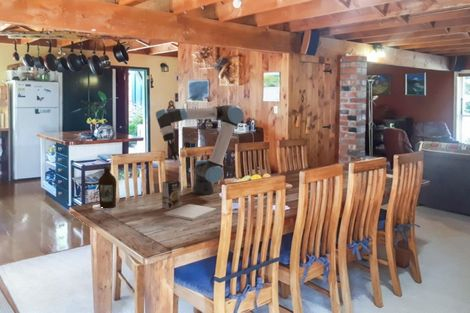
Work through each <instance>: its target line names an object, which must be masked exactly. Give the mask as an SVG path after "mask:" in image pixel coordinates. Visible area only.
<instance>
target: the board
mask: <svg viewBox="0 0 470 313" xmlns="http://www.w3.org/2000/svg"><path fill="white" fill-rule="evenodd" d="M213 211H214V212H216V211H217V208H215V207H209V206H204V205H198V204H193V203H188V204H185V205H181V206H179V207H176V208H173V209H170V210H168V211H166V212H164V215H165V216H169V217H175V218H180V219H186V220H190V221H195V220H197V219H199V218H202V217H204V216H206V215H209V214H212V213H213Z"/></svg>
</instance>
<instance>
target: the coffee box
mask: <svg viewBox="0 0 470 313" xmlns="http://www.w3.org/2000/svg"><path fill="white" fill-rule="evenodd" d="M180 184H181V183H180V181H178V180H174V179H173V180H167V181H163V182H162V191H161V192H162V195H161V196H162V198H161V200H162V201H161V202H162V204H161V207H162V209H166V210H174V209H176V208H179V207H180V205H181V204H180V195H181V194H180V193H181V192H180V190H181V186H180Z"/></svg>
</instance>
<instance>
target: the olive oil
mask: <svg viewBox="0 0 470 313" xmlns="http://www.w3.org/2000/svg"><path fill="white" fill-rule="evenodd" d="M103 168H104V169H103V171H104V172H103V173H102V174H101V176H99V178H98V182H97V185H98V194H99V195H98V196H99V197H98V198H99V208H101V207H103V208H102V209H106V208H107V209H113V208H116V206H117V179H116V177H115V176H114V175H113V174H112V173H111V166H110V165H107V166H104V167H103Z"/></svg>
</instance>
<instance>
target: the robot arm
mask: <svg viewBox="0 0 470 313" xmlns="http://www.w3.org/2000/svg"><path fill="white" fill-rule="evenodd" d="M244 114H245V113H244V111H243V109H242V108H241V107H240V106H237V105H234V104H233V105H229V104H226V105H218V106H212V107H205V108H204V107H203V108H202V107H201V108H199V107H198V108H197V107H196V108H194V107H192V108H184V107H182V108H167V109H166V108H164V109H159V110H157V111H156V112H155V118H156V121H157V124H158V125H159V132H160V133H161V135H162V139H163V141H164V142H168V143H167V145H168V148H169V149H170V152H171V154H170V156H171V157H172V158H173V162H174V164H175V167H177V168H179V167H181V166H182V163H181V160H180V157H179V156H180V154H178V151H177V147H176V144H175V141H174V140H175V139H176V137H177V136H176V134H175V132H174V128H173V126H172V124H174V123H178V122H183V121H186V120H213V121H220V124H221V128H220V130H219V133H218V136H217V139H216V140H215V143H214V144H215V145H214V148H213V150H212V152H211V156H210V158H208V159H207V160H205V159H204V160H196V161H195V166H194V168H195V170H194V172H195V174H194V176H195V182H194V185H193V187H192V188H193V189H192V193H193V194H195V195H199V196H200V195H202V196H205V195H206V196H207V195H212V194H215V188H214V185H213V183H219V182H220V181H221V180H222V179H223V176H224V170H223V168H224V164H223V162H224V158H225V157H226V154H227V153H226V152H227V150H228V147H229V146H230V142H231V139H232V136H233V133H234V130H236V129H237V128H238V125H239V124H240V123H241V122H243V120H244V117H245V116H244Z"/></svg>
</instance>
